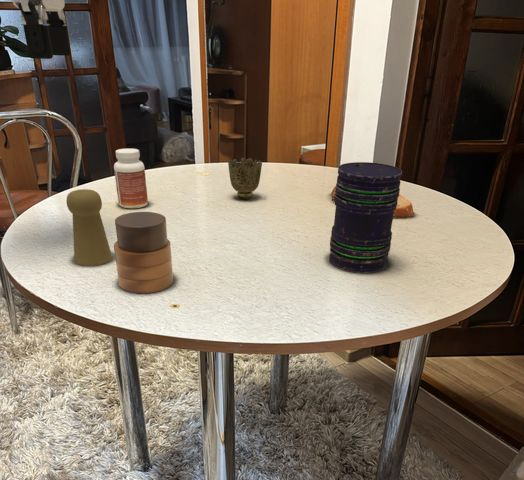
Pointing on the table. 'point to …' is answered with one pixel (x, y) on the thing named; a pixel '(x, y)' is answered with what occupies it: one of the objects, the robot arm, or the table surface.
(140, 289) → the pile chip
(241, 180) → the cup
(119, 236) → the walnut chip
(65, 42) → the robot arm
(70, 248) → the table surface
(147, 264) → the pile chip
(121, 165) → the pill bottle
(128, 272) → the pile chip
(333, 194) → the bread slice
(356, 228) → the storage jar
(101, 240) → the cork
